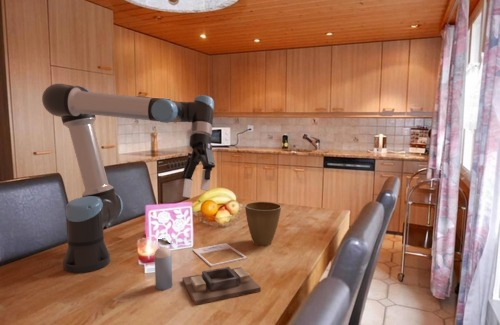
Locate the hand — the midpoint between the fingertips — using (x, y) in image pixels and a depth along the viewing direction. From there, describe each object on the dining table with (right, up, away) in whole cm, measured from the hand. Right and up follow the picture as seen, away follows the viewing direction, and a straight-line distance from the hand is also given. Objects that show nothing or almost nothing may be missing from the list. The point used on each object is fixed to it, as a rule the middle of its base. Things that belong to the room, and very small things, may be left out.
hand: (195, 193), depth 122 cm
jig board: (+10, -28, -11) cm, 31 cm away
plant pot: (+24, -23, +28) cm, 43 cm away
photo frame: (+7, -25, +15) cm, 30 cm away
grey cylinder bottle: (-8, -28, -11) cm, 31 cm away
